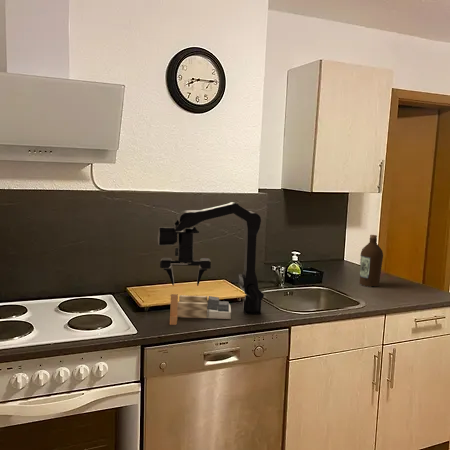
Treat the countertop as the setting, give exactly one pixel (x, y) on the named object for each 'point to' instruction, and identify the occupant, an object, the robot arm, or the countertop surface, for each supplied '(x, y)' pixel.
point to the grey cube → (213, 303)
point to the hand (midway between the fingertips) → (185, 285)
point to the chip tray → (219, 314)
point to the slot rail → (192, 306)
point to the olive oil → (371, 263)
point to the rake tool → (174, 309)
